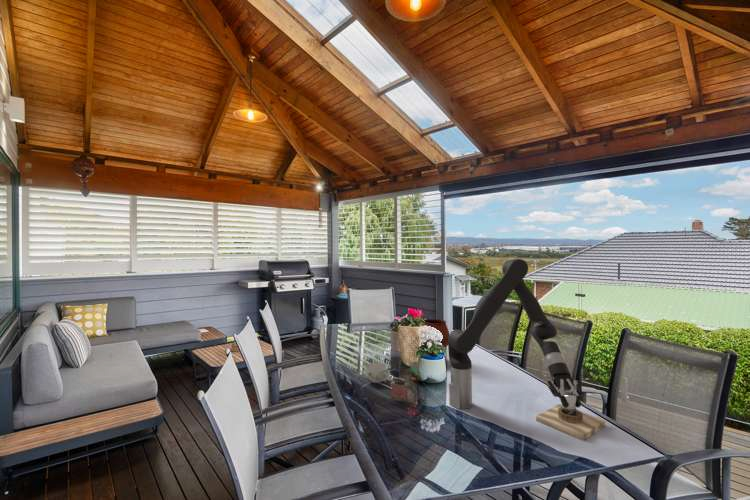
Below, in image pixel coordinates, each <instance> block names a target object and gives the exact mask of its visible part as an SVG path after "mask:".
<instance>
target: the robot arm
mask: <svg viewBox="0 0 750 500" xmlns="http://www.w3.org/2000/svg"><path fill="white" fill-rule="evenodd" d="M501 271H502V277H501V278H500V279H499V280H498V281H497V282H495V284H494V285H492V286H491V287H490V288H488V290H487V291H486V292H484V294H483V295H482V296H481V298H480V299H479V300H478V302H477V303H476V305H475V308H474V311H473V315H472V319H471V321H470V322H469V324H468V325H467V327H466V328H465V329H464V330H463V329H459V328H458V329H453V330H452V331H451V332H449V334H450V335H449V338H448V346H447V349H448V351H447V352H448V358H449V363H450V383H449V384H448V386H449V391H448V392H449V394H448V395H449V399H448V400H449V405H450V406H452V407H454V408H457V409H458V410H461V409H462V410H463V409H465V410H466V409H469V408H471V407H472V406H473V385H472V384H473V383H472V381H473V378H472V374H473V372H472V367H473V366H472V360H471V358H470V357H469V353H471V351H473V349H474V348H475V346H476V344H477V343H478V342H479V339H480V337H481V336H482V335H483V333H484V331H485V329H486V328H487V327H488V325H489V324H490V322H491V321H492V320H493V318H494V317H495V316H496V314H497V313H498V312H499V310H500V309H501V308H502V306H503V305H504V303H505V302H506V300H507V299H508V298H509V296H510V295H511V293H512V292H513V291H514V292H515V294H516V296H517V298H518V300H519V301H520V303H521V305H522V308H523V309H524V311H525V313H526V316H527V318H528V320H529V321H530V322H533V323H535V322H541V324H538V325H534V326H532V327H531V329H530V334H531V336H532V338H533V339H534V340H535V341H536V342H537V345H538V346H539V347H540V349H541V352H542V355H543V356H544V360H545V364H546V367H547V370H548V372H549V376H550V377H551V380H547V382H546V385H545V386H547V388H548V390H549V391H550V392H551V394H552V395H553V397H555V398H556V397H557V398H559V400H560V404H561V405H563V406H564V407H565V408H567V407H568V403H567V401H566V398H565V396H564V393H565V392H564V391H567V392H568V393H573V394H575V395H576V409H577V408H578V409H579V408H580V407H581V405H582V402H581V400H580V397H581V396H582V395H583V387H582V381H581V380H580V379H577V380H575V379H574V378H572V376H571V372H570V369H569V367H568V364H567V363H566V360H565V357H564V356H563V354H562V352H561V350H560V347H559V345H558V343H557V342H556V341H553V340H551V341H548V340H549V339H553V338H555V337H557V335H558V332H557V328H556V326H555V325H554V324H553V323H552V322H551V321H550V319H548V317H547V316H546V314H545V313H544V311H543V309H542V306H541V304H540V302H539V301H538V299H537V297H536V296H535V295H534V293H532V291H531V290H530V289H529V287H528V285H527V284H526V283H525V280H524V278H525V277H526V276H527V275H528V272H529V264H528V263H527V262H526V260H524V259H521V258H514V259H513V258H512V259H508V260H506V261H505V262H504V263H503V264H502V267H501ZM546 340H547V341H546Z"/></svg>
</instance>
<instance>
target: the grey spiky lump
mask: <svg viewBox="0 0 750 500" xmlns="http://www.w3.org/2000/svg"><path fill="white" fill-rule="evenodd" d="M364 370H365V374H366V376H367V378H368V379H369V380H370V381H371V382H372V383H374V384H381V383H382V382H383V381H387V380H388V372H389V365H388V364H387V363H386V362H385V363H384V362H377V361H376V362H371V363H368V364H366V365H365V366H364Z"/></svg>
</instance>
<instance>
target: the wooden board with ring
mask: <svg viewBox="0 0 750 500" xmlns="http://www.w3.org/2000/svg"><path fill="white" fill-rule="evenodd" d="M535 417H536V418H535V419H536V422H538V423H541V424H543V425H546V426H548V427H550V428H552V429H555V430H557V431H559V432H562V433H564V434H566V435H569V436H571V437H573V438H575V439H578V440H580V441H582V442H584V441H585V440H586V439H588V438H589V437H590V436H593V435H594V434H595V433H597V432H598V431H599V430H601V429H603V428H604V427H605V426H606V420H605V419H603V418H599V417H597V416H593V415H592V414H588V413H586V412H583V411H580V410H579V409H577V408H576V416H570V415H567V414H564V406H563V405H562V403H559V404H556V405H554V406H552V407H551V408H549V409H547V410H545V411H543V412H541V413H539V414H538V415H536V416H535Z"/></svg>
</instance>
